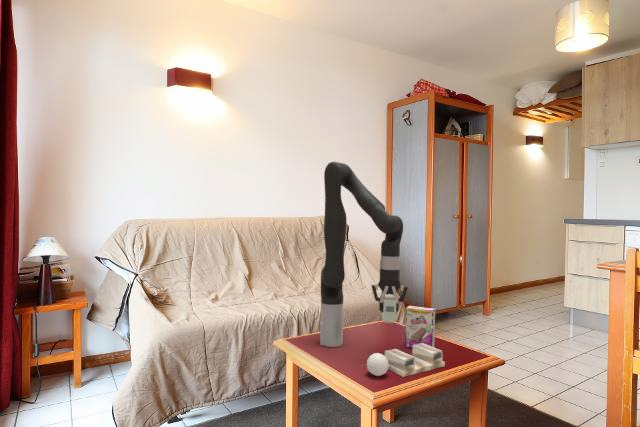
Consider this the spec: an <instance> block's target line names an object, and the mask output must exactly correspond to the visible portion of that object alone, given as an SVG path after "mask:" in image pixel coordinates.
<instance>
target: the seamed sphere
mask: <svg viewBox="0 0 640 427" xmlns="http://www.w3.org/2000/svg"><path fill="white" fill-rule="evenodd" d="M360 366H363V365H360ZM366 368H367V370H368V372H369V373H370V374H372V375H373V376H376V377H380V376H383V375H384V374H386V373H387V371H388V370H389V369H388V361H387V359H386V357H385V354H382V353H379V352H375V353H372V354H371V355H369V356H368V358H367V360H366Z"/></svg>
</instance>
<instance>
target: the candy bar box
mask: <svg viewBox="0 0 640 427" xmlns="http://www.w3.org/2000/svg"><path fill="white" fill-rule="evenodd" d="M435 329H436V308H429V307H423V306H422V307H421V306H417V305H416V306H415V305H408V306H407V307H406V308H405V331H404V332H405V334H404V335H405V336H404V337H405V339H404V341H405V342H404V347H405V348H409V349H413V345H415V344H420V343H424V344H426V345H429V346H431V347H434V348H435V338H436V336H435V335H436V334H435V332H436V330H435Z"/></svg>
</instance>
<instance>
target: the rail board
mask: <svg viewBox="0 0 640 427" xmlns="http://www.w3.org/2000/svg"><path fill="white" fill-rule="evenodd" d="M411 352H412V354H408V353H406V352H404V351H401V350H399V349H397V348H393V349H388V350H384V356H385V357H386V359H387V361H388V370H389V371H391V372H392V373H394V374H396V375H399V376H401V377H402V378H404V377H405V378H406V377H407V376H412V375H416V374H419V373H424V372H427V371H432V370H436V369H439V368H443V367H445V366H446V362H445V361H443V350H441V349H439V348H436V347H435V346H434V347H431V346H429V345H426V344H424V343H420V344H415V345H413V348H412V351H411Z"/></svg>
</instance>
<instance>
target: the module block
mask: <svg viewBox="0 0 640 427" xmlns="http://www.w3.org/2000/svg"><path fill="white" fill-rule="evenodd" d="M381 320H382V321H383V323H393V324H394V323H396V322H397V313H396V300H395V299H394V296H388V295H385V298H384V299H383V313H382V312H381Z"/></svg>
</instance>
